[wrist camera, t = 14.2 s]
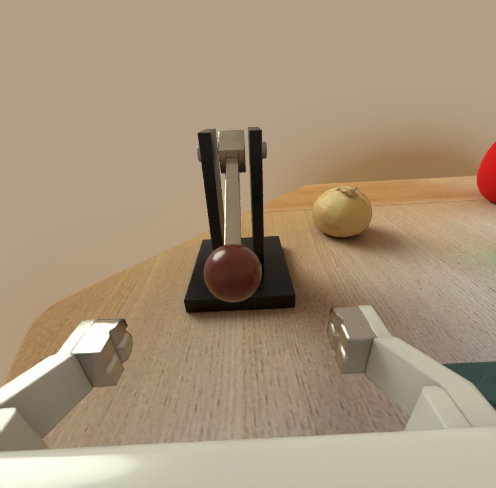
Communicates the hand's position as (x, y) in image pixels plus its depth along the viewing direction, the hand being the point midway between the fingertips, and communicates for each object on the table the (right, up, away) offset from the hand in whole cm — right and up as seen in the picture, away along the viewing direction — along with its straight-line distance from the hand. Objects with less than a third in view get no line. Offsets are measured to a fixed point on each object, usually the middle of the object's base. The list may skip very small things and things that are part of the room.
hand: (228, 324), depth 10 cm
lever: (0, +5, +10) cm, 12 cm away
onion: (+14, +5, +27) cm, 31 cm away
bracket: (0, 0, +18) cm, 18 cm away
